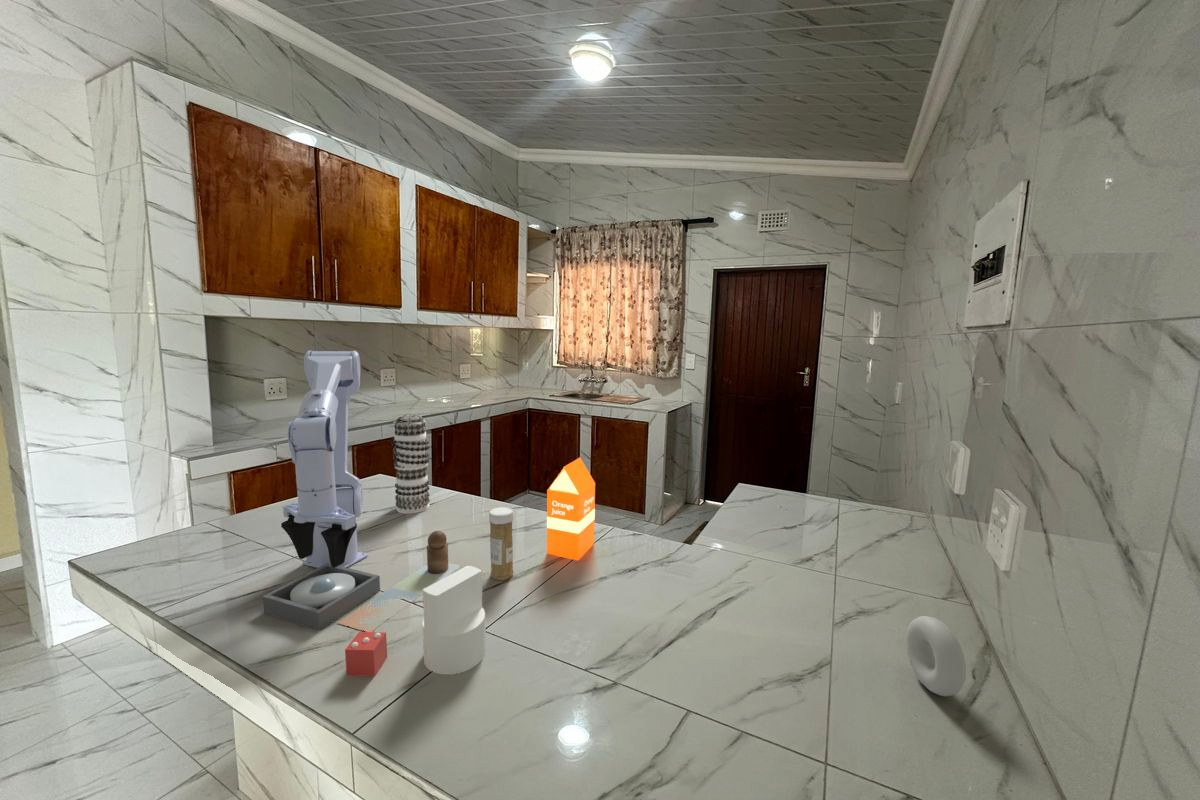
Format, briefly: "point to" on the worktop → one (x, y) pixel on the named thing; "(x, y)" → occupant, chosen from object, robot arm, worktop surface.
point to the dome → (322, 589)
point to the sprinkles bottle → (501, 543)
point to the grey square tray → (319, 618)
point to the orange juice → (571, 512)
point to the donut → (935, 656)
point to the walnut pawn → (437, 553)
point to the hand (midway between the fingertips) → (321, 560)
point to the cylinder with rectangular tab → (454, 622)
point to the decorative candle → (411, 464)
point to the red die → (366, 654)
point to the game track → (398, 594)
